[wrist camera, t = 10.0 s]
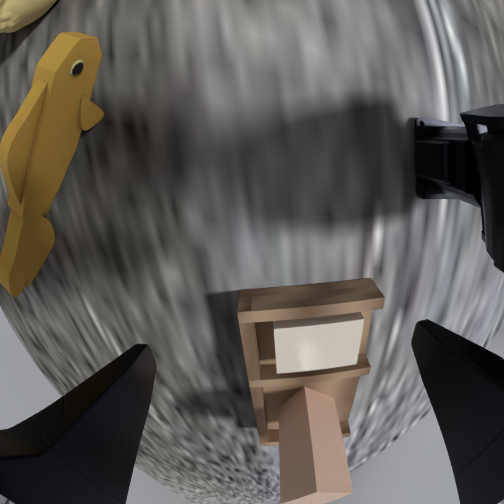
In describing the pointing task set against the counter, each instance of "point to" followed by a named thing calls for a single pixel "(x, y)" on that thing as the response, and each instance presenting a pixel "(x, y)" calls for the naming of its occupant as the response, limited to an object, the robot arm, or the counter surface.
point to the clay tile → (317, 342)
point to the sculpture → (21, 13)
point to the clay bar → (311, 450)
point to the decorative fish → (44, 151)
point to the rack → (287, 384)
